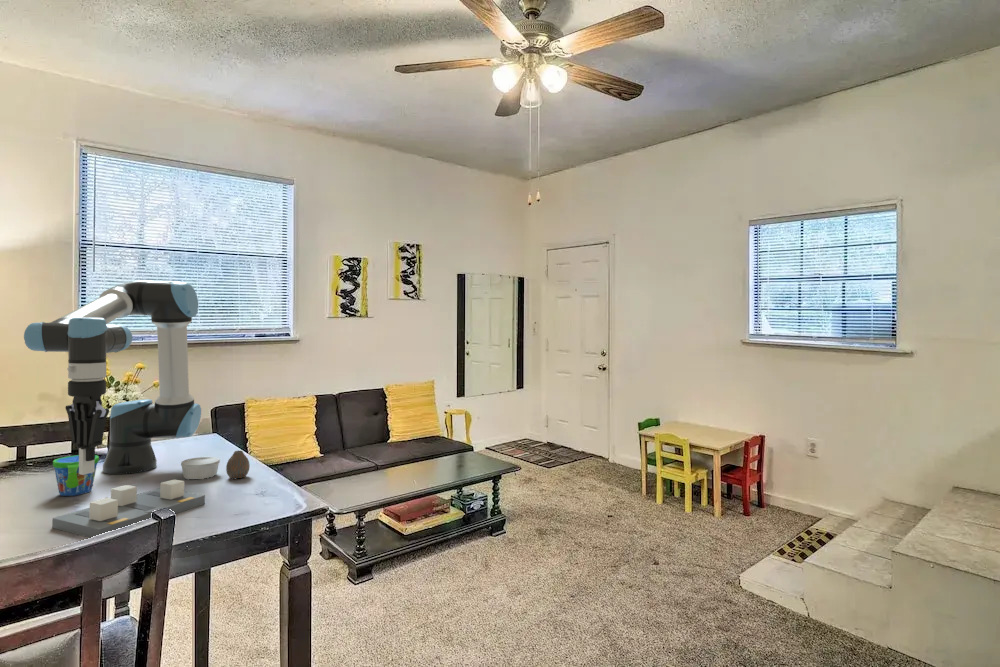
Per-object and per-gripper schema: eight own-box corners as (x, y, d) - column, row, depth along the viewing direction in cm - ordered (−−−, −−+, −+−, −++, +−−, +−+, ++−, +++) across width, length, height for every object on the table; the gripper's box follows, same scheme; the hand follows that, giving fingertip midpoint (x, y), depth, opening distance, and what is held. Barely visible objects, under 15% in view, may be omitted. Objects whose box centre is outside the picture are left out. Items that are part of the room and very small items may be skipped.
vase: (231, 474, 178) (231, 448, 178) (252, 474, 179) (253, 449, 179) (222, 480, 171) (223, 453, 171) (244, 480, 172) (245, 453, 172)
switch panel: (52, 527, 129) (52, 517, 129) (161, 495, 155) (162, 486, 155) (98, 539, 123) (99, 528, 123) (204, 503, 149) (204, 494, 149)
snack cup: (61, 487, 160) (61, 453, 160) (103, 483, 164) (104, 451, 164) (43, 503, 146) (44, 466, 146) (91, 499, 150) (91, 463, 150)
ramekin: (213, 470, 183) (213, 454, 183) (224, 477, 175) (224, 461, 175) (176, 475, 176) (176, 459, 175) (185, 483, 168) (186, 466, 168)
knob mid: (110, 504, 139) (111, 488, 139) (126, 499, 143) (126, 484, 143) (121, 506, 138) (121, 490, 138) (136, 501, 141) (136, 486, 141)
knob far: (160, 497, 145) (160, 483, 145) (173, 493, 149) (174, 479, 149) (170, 499, 144) (170, 484, 144) (184, 495, 148) (184, 481, 148)
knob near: (89, 518, 129) (89, 502, 129) (106, 513, 132) (107, 497, 132) (100, 521, 127) (100, 504, 127) (117, 516, 131) (117, 499, 131)
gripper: (53, 378, 131) (53, 473, 132) (88, 383, 126) (87, 481, 127) (86, 376, 138) (85, 465, 139) (120, 379, 133) (119, 472, 134)
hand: (86, 472), depth 133 cm, fingers closed
